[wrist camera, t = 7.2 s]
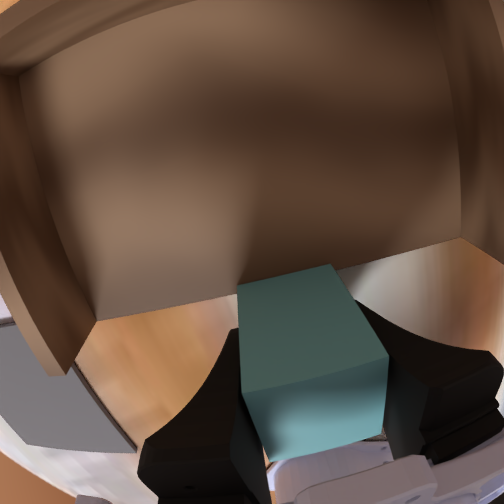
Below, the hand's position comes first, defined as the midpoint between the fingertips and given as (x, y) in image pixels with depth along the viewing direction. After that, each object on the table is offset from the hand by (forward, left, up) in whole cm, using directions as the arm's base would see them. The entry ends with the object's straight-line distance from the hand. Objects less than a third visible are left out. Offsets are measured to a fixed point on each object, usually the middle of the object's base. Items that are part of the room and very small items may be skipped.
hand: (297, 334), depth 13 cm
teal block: (0, 0, -1) cm, 1 cm away
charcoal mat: (+14, +13, -2) cm, 19 cm away
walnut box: (+5, -7, -2) cm, 9 cm away
